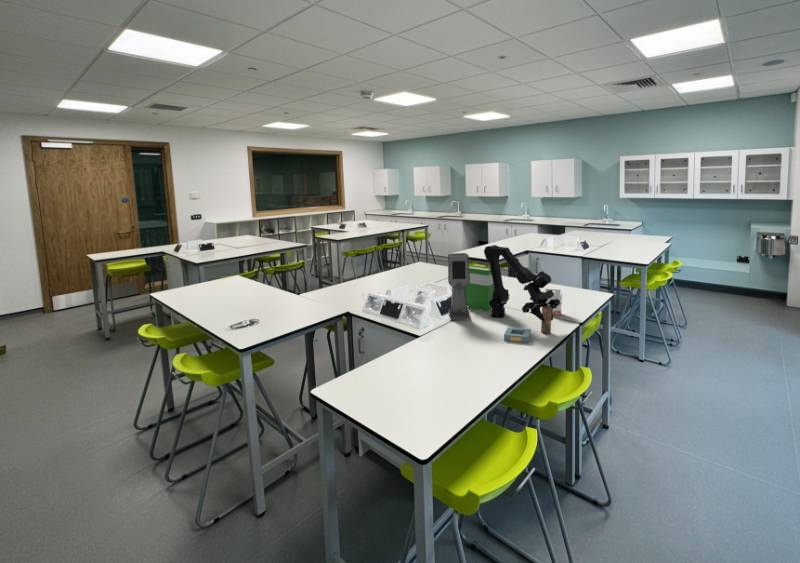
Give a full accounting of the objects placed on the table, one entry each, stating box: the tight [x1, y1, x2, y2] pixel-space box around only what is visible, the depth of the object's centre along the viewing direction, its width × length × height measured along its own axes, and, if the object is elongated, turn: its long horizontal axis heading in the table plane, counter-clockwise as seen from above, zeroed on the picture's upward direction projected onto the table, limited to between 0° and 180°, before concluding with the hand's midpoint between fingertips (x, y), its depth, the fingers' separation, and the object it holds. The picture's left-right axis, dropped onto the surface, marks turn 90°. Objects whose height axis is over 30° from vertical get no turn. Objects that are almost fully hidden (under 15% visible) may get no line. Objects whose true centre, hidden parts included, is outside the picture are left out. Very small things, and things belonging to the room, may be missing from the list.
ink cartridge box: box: [544, 288, 563, 316], centre depth 238 cm, size 9×5×15 cm, turn 62°
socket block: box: [503, 326, 532, 344], centre depth 206 cm, size 11×11×3 cm
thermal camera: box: [447, 252, 471, 321], centre depth 237 cm, size 12×13×35 cm
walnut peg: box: [540, 306, 552, 335], centre depth 210 cm, size 4×4×13 cm
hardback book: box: [466, 264, 494, 312], centre depth 255 cm, size 18×7×24 cm, turn 47°
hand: (548, 320), depth 209 cm, fingers closed on walnut peg, 4 cm apart
